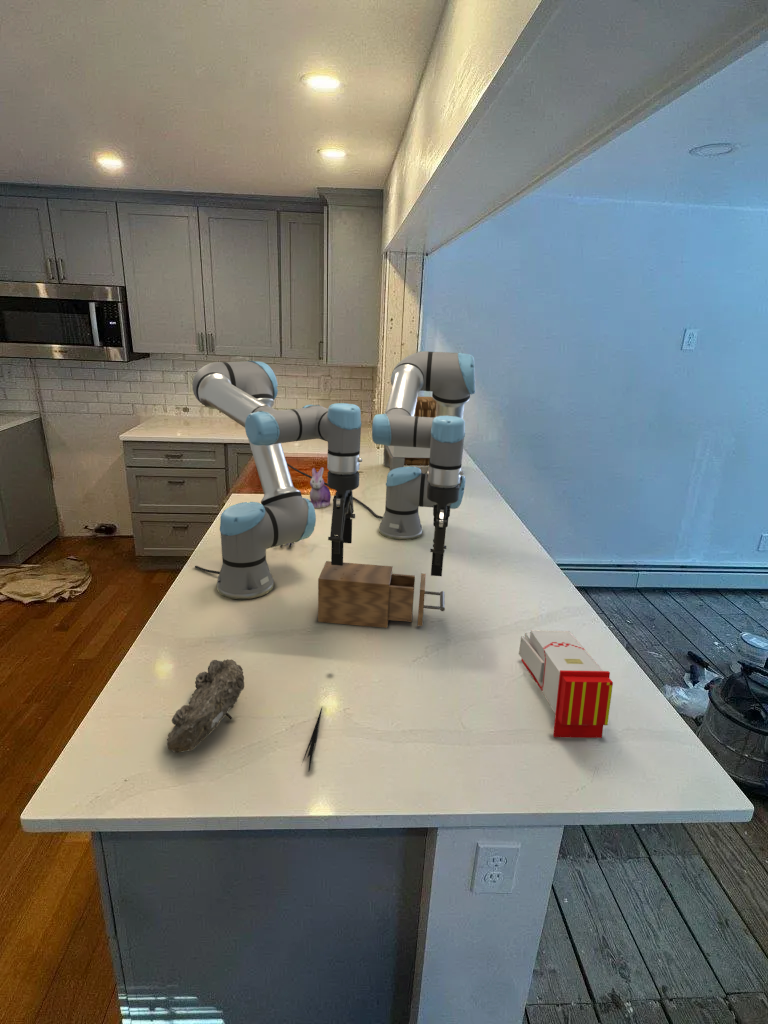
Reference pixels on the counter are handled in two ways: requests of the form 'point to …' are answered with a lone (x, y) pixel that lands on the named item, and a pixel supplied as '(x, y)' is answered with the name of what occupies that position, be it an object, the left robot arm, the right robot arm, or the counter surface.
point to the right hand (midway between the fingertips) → (436, 574)
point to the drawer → (409, 598)
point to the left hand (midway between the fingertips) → (341, 553)
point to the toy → (568, 682)
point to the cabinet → (354, 594)
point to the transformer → (411, 455)
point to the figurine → (319, 490)
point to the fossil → (206, 705)
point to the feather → (313, 740)
